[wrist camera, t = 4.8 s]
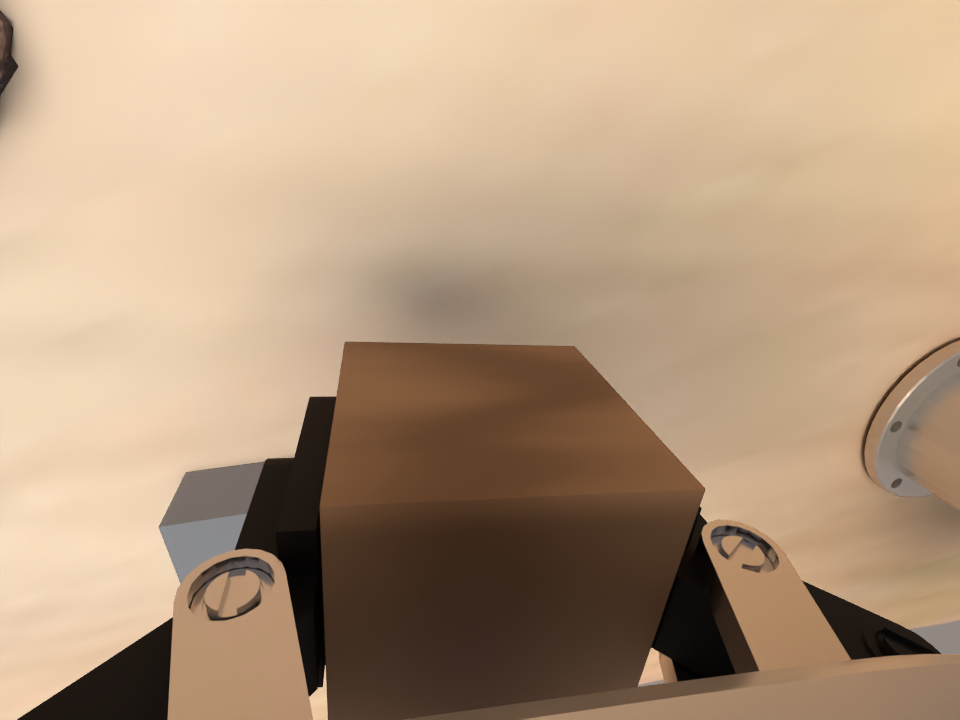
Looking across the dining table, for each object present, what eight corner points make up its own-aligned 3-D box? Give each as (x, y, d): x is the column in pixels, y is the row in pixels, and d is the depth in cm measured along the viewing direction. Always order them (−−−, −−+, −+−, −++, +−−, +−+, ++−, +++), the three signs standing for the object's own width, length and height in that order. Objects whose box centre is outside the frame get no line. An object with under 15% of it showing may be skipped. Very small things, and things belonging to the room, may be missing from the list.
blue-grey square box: (333, 449, 26) (328, 500, 22) (350, 548, 29) (348, 607, 25) (187, 469, 25) (158, 526, 21) (221, 570, 28) (201, 636, 24)
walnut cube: (574, 346, 11) (705, 488, 7) (542, 519, 13) (626, 718, 9) (344, 341, 10) (319, 505, 6) (347, 531, 12) (330, 763, 8)
